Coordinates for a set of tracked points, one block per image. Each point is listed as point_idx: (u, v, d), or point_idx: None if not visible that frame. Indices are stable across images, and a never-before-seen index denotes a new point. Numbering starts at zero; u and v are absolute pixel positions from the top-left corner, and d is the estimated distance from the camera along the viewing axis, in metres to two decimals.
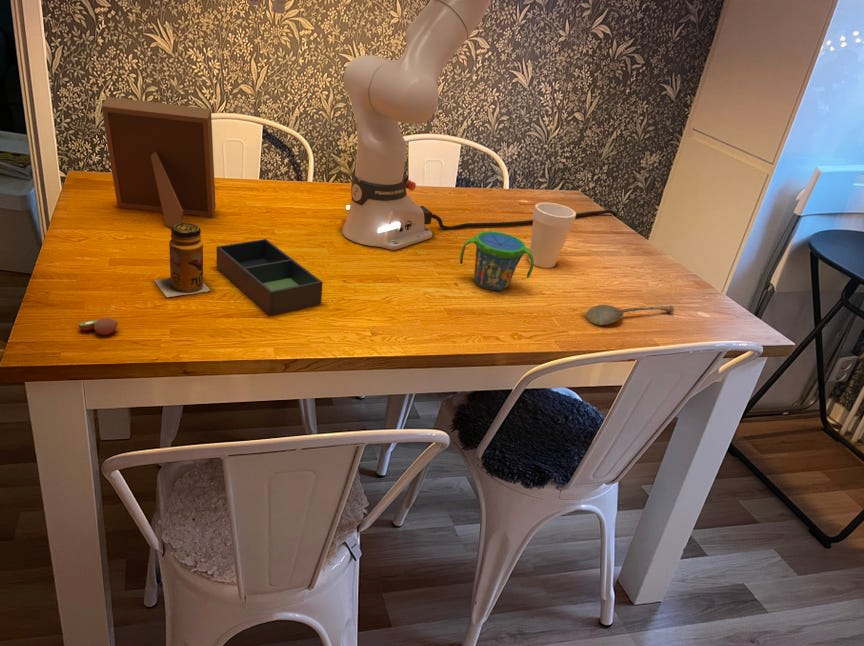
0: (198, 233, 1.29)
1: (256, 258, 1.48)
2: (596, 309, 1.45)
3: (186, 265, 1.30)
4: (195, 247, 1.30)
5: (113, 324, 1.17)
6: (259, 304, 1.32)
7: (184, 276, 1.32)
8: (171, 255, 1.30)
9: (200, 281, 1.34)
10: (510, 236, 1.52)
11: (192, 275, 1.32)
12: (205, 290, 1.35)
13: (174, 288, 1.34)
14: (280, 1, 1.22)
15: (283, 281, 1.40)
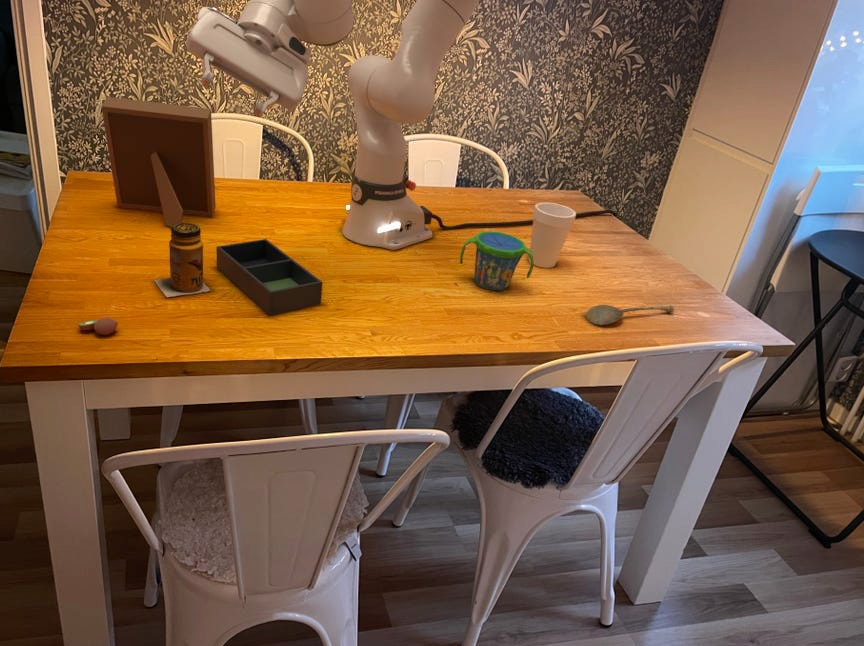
0: (198, 233, 1.29)
1: (256, 258, 1.48)
2: (596, 309, 1.45)
3: (186, 265, 1.30)
4: (195, 247, 1.30)
5: (113, 324, 1.17)
6: (259, 304, 1.32)
7: (184, 276, 1.32)
8: (171, 255, 1.30)
9: (200, 281, 1.34)
10: (510, 236, 1.52)
11: (192, 275, 1.32)
12: (205, 290, 1.35)
13: (174, 288, 1.34)
14: (204, 71, 1.15)
15: (283, 281, 1.40)
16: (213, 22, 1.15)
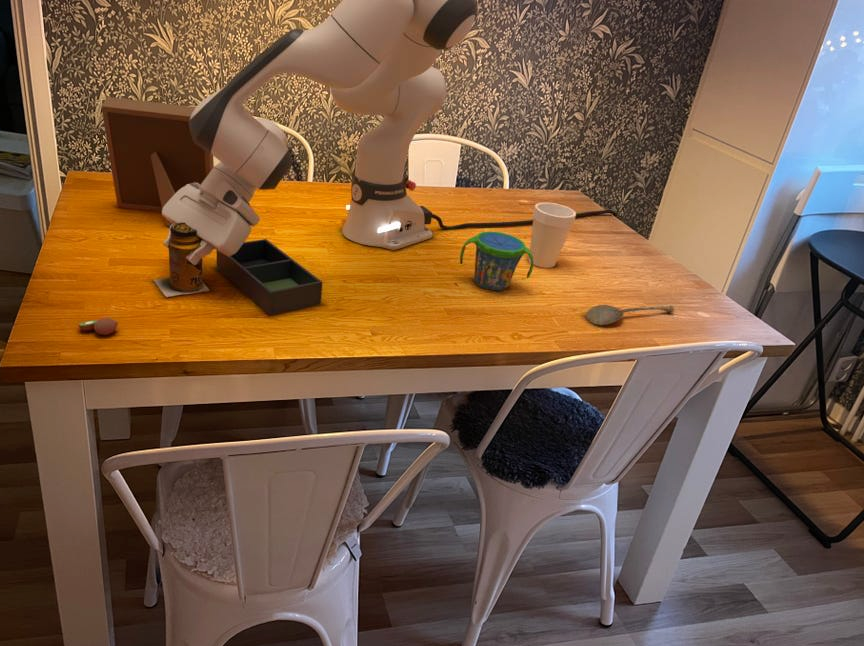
0: None
1: (256, 258, 1.48)
2: (596, 309, 1.45)
3: (185, 265, 1.30)
4: (194, 246, 1.30)
5: (113, 324, 1.17)
6: (259, 304, 1.32)
7: (183, 275, 1.32)
8: (170, 255, 1.31)
9: (199, 280, 1.34)
10: (510, 236, 1.52)
11: (191, 275, 1.32)
12: (204, 290, 1.35)
13: (173, 288, 1.34)
14: None
15: (283, 281, 1.40)
16: (181, 195, 1.35)
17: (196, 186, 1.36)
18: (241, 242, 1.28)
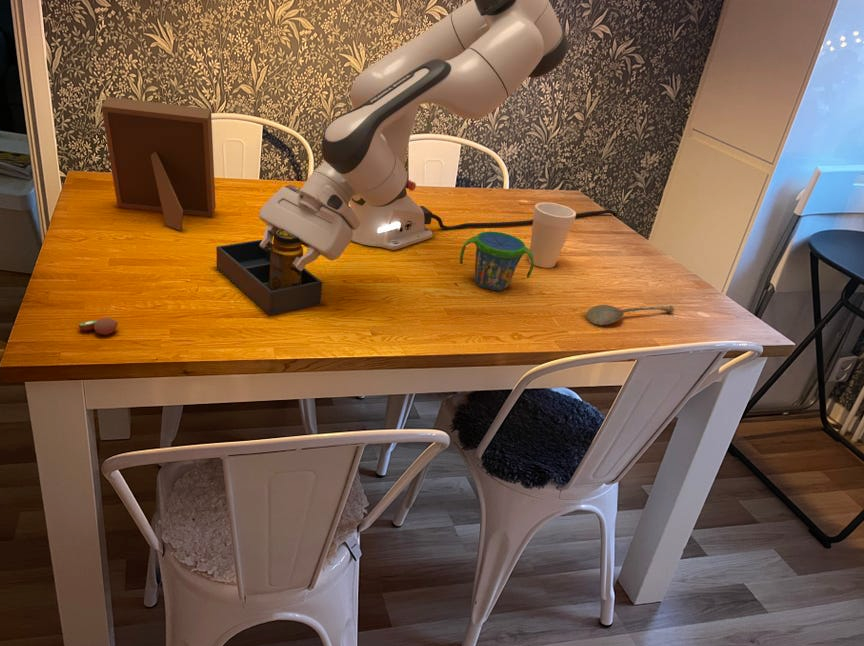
0: None
1: (256, 258, 1.48)
2: (596, 309, 1.45)
3: (288, 271, 1.31)
4: (298, 253, 1.31)
5: (113, 324, 1.17)
6: (259, 304, 1.32)
7: (285, 281, 1.33)
8: (273, 261, 1.31)
9: None
10: (510, 236, 1.52)
11: (293, 280, 1.33)
12: None
13: None
14: None
15: None
16: (279, 198, 1.35)
17: (293, 189, 1.37)
18: (344, 246, 1.29)
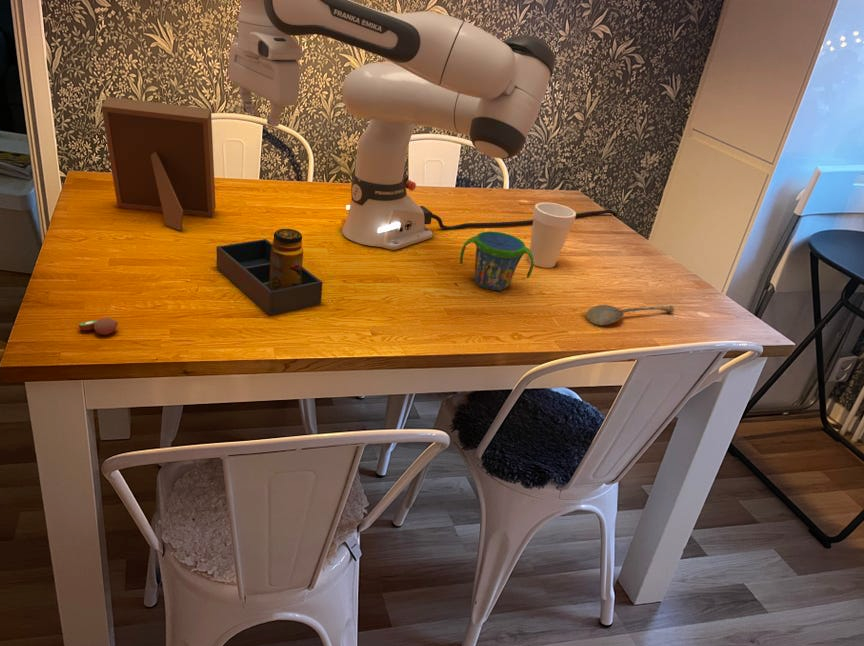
0: (300, 239, 1.31)
1: (256, 258, 1.48)
2: (596, 309, 1.45)
3: (288, 271, 1.31)
4: (298, 252, 1.31)
5: (113, 324, 1.17)
6: (259, 304, 1.32)
7: (285, 281, 1.33)
8: (273, 261, 1.31)
9: None
10: (510, 236, 1.52)
11: (293, 280, 1.33)
12: None
13: None
14: None
15: None
16: (233, 55, 1.34)
17: None
18: (296, 85, 1.25)
